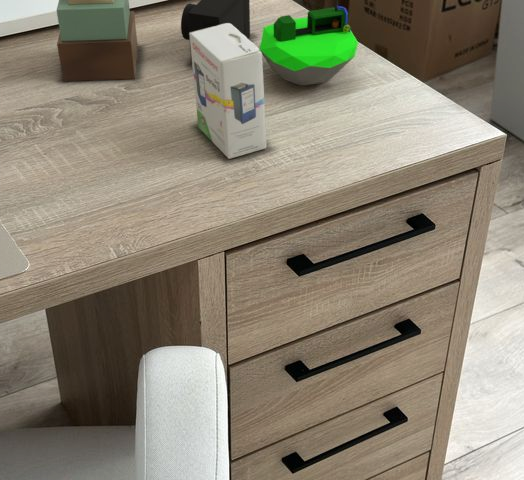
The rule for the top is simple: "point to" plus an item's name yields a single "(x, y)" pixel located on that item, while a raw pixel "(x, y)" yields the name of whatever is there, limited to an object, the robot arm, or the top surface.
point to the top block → (93, 20)
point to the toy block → (89, 1)
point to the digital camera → (215, 16)
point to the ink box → (229, 89)
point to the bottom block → (100, 57)
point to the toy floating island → (309, 45)
